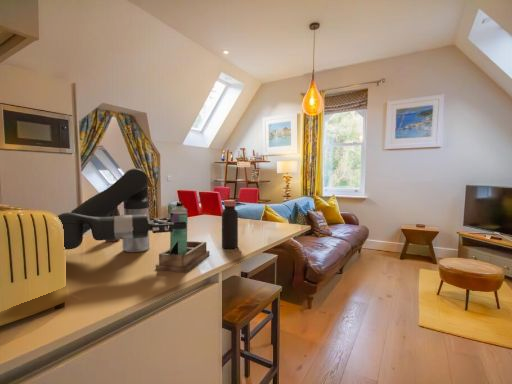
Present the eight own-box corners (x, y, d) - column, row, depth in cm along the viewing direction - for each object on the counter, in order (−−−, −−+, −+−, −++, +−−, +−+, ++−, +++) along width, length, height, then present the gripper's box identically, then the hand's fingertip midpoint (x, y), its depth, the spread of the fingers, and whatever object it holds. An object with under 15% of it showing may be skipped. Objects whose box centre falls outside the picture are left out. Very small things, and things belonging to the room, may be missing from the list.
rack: (155, 269, 86) (155, 254, 86) (183, 252, 104) (183, 240, 104) (186, 272, 84) (186, 256, 83) (209, 254, 102) (209, 241, 102)
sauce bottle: (109, 243, 118) (108, 199, 117) (102, 241, 121) (100, 198, 120) (123, 240, 124) (122, 198, 122) (116, 238, 127) (115, 197, 126)
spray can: (181, 257, 94) (182, 201, 93) (189, 261, 90) (190, 202, 89) (167, 260, 90) (168, 201, 89) (174, 264, 86) (175, 203, 85)
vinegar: (235, 249, 109) (235, 201, 108) (219, 248, 110) (219, 201, 109) (239, 245, 116) (239, 200, 114) (224, 244, 117) (224, 199, 116)
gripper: (132, 233, 90) (181, 229, 96) (131, 243, 77) (188, 238, 83) (131, 211, 89) (181, 209, 96) (130, 218, 76) (187, 215, 83)
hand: (184, 223), depth 90 cm, fingers open, 8 cm apart
